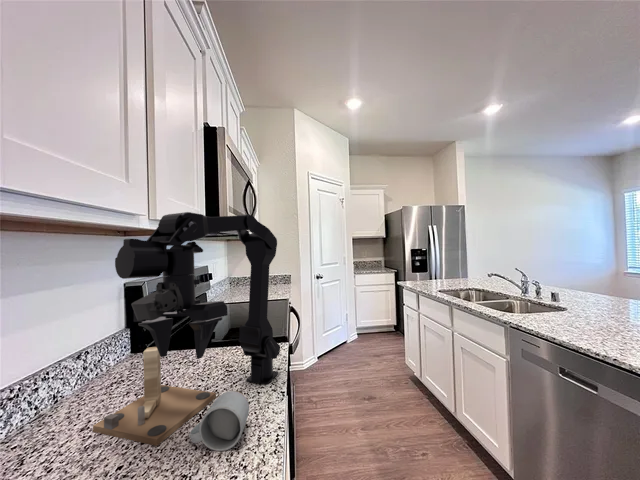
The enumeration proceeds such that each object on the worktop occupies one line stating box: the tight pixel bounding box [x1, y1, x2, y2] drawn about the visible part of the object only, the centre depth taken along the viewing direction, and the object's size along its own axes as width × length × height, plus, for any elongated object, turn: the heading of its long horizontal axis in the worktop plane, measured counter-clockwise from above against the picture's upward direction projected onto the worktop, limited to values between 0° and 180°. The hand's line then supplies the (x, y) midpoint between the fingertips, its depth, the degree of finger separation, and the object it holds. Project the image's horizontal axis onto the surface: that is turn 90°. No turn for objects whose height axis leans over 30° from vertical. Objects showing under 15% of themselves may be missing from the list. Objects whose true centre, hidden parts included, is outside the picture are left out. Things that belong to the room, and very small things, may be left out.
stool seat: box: [92, 384, 217, 447], centre depth 64 cm, size 17×16×4 cm
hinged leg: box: [142, 346, 162, 418], centre depth 63 cm, size 7×3×12 cm, turn 13°
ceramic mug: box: [188, 390, 250, 452], centre depth 55 cm, size 11×8×8 cm
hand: (181, 357), depth 56 cm, fingers open, 9 cm apart
